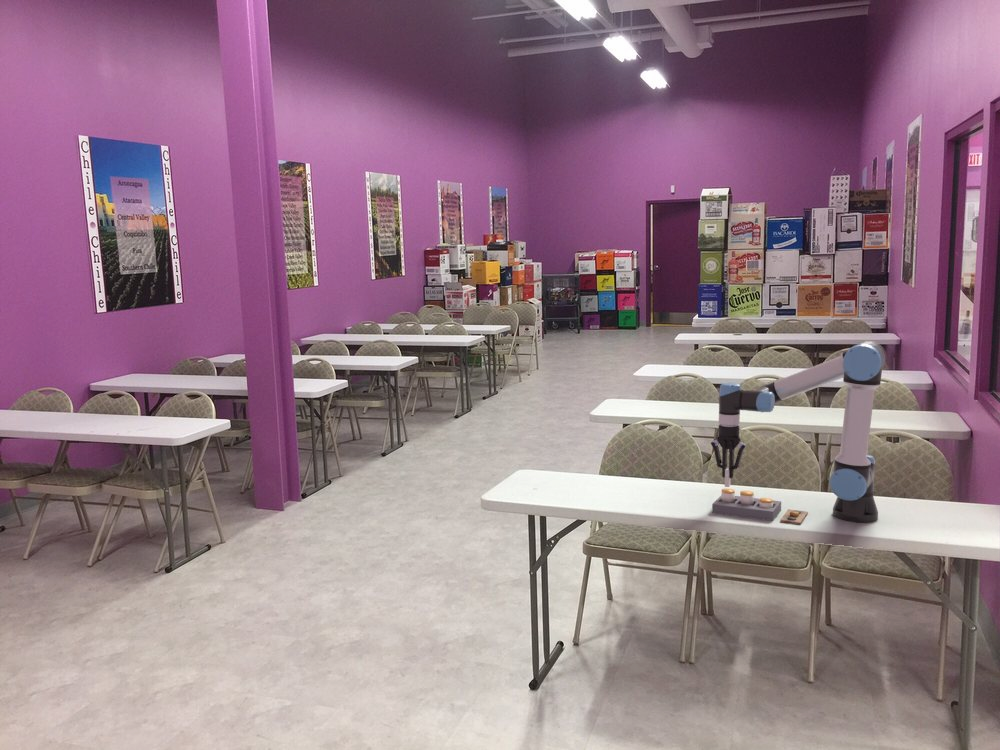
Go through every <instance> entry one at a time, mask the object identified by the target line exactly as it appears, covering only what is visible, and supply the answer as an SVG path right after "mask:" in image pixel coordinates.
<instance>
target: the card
mask: <svg viewBox="0 0 1000 750" xmlns="http://www.w3.org/2000/svg"><path fill="white" fill-rule="evenodd" d="M808 515H809V511H807V510H806V511H804V510H796V509H790V508H789V509H787V510H786V511H785V513H784V514H783V515H782V517H780V520H779V522H780V523H785V524H792V525H802V524H803V522H804V520H805V519H806V517H807V516H808Z"/></svg>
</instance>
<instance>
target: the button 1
mask: <svg viewBox="0 0 1000 750" xmlns="http://www.w3.org/2000/svg"><path fill="white" fill-rule="evenodd" d="M735 492H736V490H735V489H733V488H722V489H721V494H720V496H721V502H727V503H734V502H735V496H736V495H735V494H736V493H735Z"/></svg>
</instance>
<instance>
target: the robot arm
mask: <svg viewBox="0 0 1000 750" xmlns="http://www.w3.org/2000/svg"><path fill="white" fill-rule="evenodd" d="M886 363H887V352H886V350H885V348H884V347H883V346H882V345H880V343H878V342H875V341H873V340H872V341H871V340H865V341H861V342H859V343H857V344H855V345H853V346H852V347H850V348H849V349H847V350H845V351H842V352H841V354H840V356H837V357H835V358H832V359H830V360H826V361H824V362H821V363H819V364H815V365H814V366H811V367H809V368H807V369H803V370H801V371H799V372H797V373H793V374H791V375H789V376H785V377H783V378H781V379H778V380H776V381H774V382H771V383H767V384H764V385H762V386H760V387H759V388H757V389H755V390H750V389H749V390H748V389H742V388H741V384H739V383H735V382H724V383H721V384H720V385H719V393H718V431H717V433H718V435H717V438H716V439H715V440H713V441H711V442H710V444H711V446H712V448H713V453H714V457H715V461H716V465H717V467H718V468H720V469H722V473H721V474H722V475H721V476H722V478H724V487H725V488H730V487H731V481H732V479H733V478H734V470H737V469H738V468H739V467H740V465H741V460H742V457H743V453H744V450H745V448H746V447H747V444H746V443H743V442H742V441H741V438H740V424H741V423H740V419H741V417H740V416H741V411H749V412H756V413H757V412H758V413H759V412H760V413H771V412H773V410H774V407H775V404H776V403H779V402H782V401H784V400H787V399H790V398H792V397H794V396H798V395H801V394H803V393H805V392H809V391H812V390H814V389H816V388H819V387H823V386H825V385H827V384H831V383H833V382H835V381H838V380H841V379H842V382H843V383H844V384H845V385H846V386H847V388H846V396H845V404H844V405H845V406H844V415H843V422H842V423H843V424H842V431H841V432H842V433H841V438H840V439H841V441H840V450H839V454H838V455H836V456H835V457H834V461H833V468H832V469H833V470H832V474H831V476H830V478H829V486H830V489H831V492H832V493H833V494H834V495H835V496H836V499H835V502H834V505H833V507H832V516H834V517H835V518H837V519H839V520H842V521H847V522H853V523H854V522H855V523H871V522H875V521H877V520H878V519H879V511H878V507H877V505H876V502H875V498H874V497H875V496H874V492H875V488H874V487H875V486H874V485H875V466H876V462H875V458H874V456H873V455H871V454H870V455H869V454H868V448H869V440H870V433H871V423H872V417H873V416H872V415H873V407H874V400H875V392H876V391H875V390H876V389H877V388H878V387H880V386H881V383H882V382H881V381H882V374H883V373H882V372H883V368H884V367H885V365H886ZM719 446H720V447H721V448H722V450H721V452H722V456H721V452H720V447H719ZM737 446H738V448H739V449H738V451H737V455H736V458H735V450H736V449H737ZM728 454H729V458H728ZM728 459H729V461H728Z"/></svg>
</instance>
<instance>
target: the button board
mask: <svg viewBox="0 0 1000 750" xmlns="http://www.w3.org/2000/svg"><path fill="white" fill-rule="evenodd" d="M759 499H760V498H757V497H754V505H752V506H750V505H742V504H740V495H735V502H734V503H727V502H721V495H720V496H719V497H718V498H717V499H716V500H715V501H714V502H713V503H712V505H711V506H712V507H711V509H712V510H711V512H712V514H716V515H724V516H725V515H726V516H732V517H741V518H748V519H754V520H763V521H769V522H774V520H775V519H776V518H777V517H778V515H779V514H780V513H781V511H782V501H781V500H774V499H773V508H766V507H759Z"/></svg>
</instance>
